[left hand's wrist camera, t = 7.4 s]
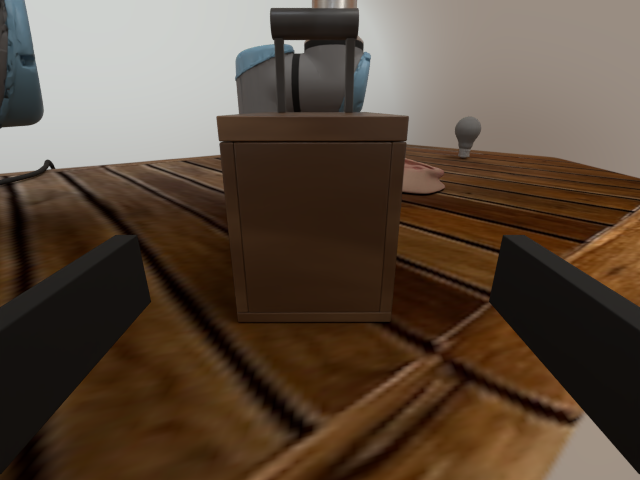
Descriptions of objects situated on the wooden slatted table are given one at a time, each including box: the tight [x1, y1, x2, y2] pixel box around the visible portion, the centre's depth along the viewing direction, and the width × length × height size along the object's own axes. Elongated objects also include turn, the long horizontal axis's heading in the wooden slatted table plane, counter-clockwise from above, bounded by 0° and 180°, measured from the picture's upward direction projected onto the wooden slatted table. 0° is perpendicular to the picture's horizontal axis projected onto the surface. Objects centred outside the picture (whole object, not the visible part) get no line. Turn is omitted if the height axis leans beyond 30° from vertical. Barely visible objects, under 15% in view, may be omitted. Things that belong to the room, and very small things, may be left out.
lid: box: [217, 8, 409, 141], centre depth 23 cm, size 16×9×9 cm, turn 0°
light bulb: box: [455, 117, 481, 158], centre depth 86 cm, size 6×6×10 cm
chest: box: [220, 141, 406, 322], centre depth 26 cm, size 15×9×11 cm, turn 0°
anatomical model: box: [402, 158, 445, 194], centre depth 57 cm, size 13×4×12 cm
